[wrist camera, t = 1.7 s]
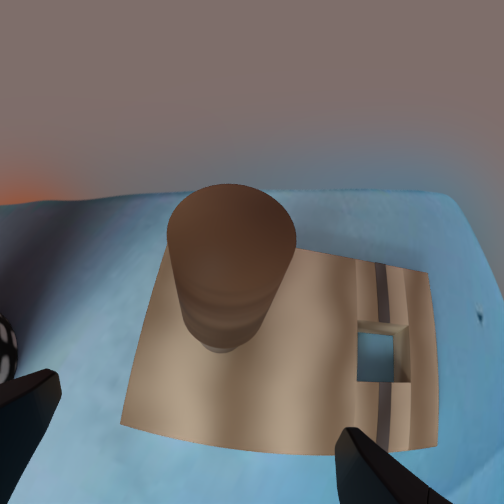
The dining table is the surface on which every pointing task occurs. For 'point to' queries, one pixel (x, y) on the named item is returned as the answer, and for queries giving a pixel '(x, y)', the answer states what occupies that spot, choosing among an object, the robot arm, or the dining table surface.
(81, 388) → the dining table surface
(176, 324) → the board
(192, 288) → the brown wooden peg
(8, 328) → the spotted tube
